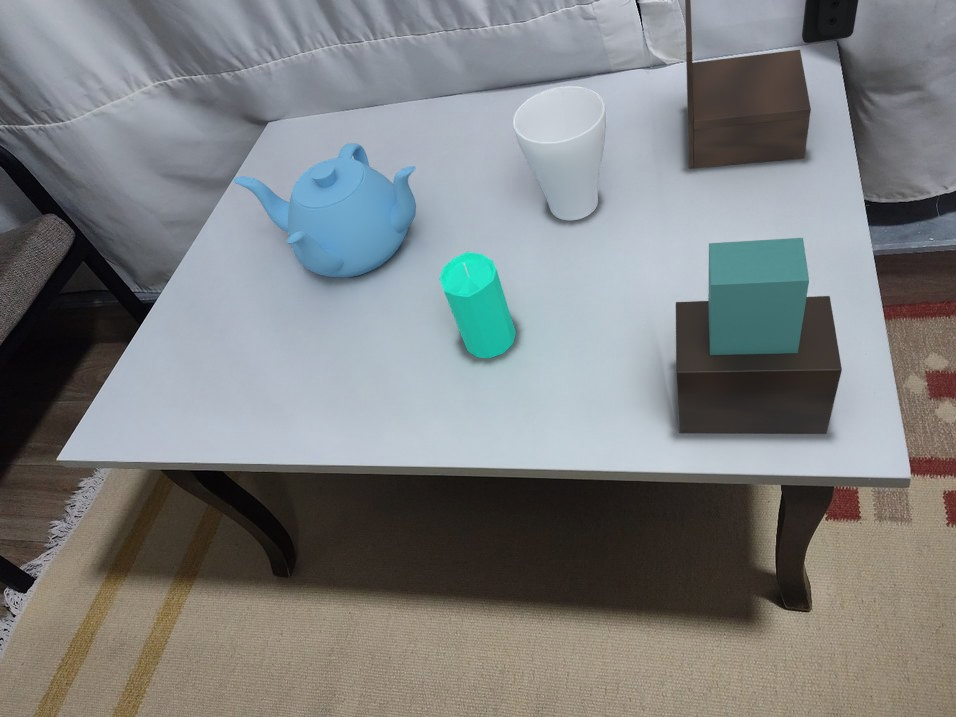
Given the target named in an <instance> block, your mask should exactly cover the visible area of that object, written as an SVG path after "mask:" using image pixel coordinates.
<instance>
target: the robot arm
mask: <svg viewBox="0 0 956 717" xmlns="http://www.w3.org/2000/svg"><path fill="white" fill-rule="evenodd" d="M858 5H859V0H805V3H804V11H803V21H802V31H801V38H802V41H803V42H804V43H805V44H812V43H819V42H825V41H826V42H827V41H833V40H841V39H847V38H850V37H851V36H852V35H853V34H854V31H855V25H856V24H855V23H856V17H857V12H858Z"/></svg>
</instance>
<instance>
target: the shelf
mask: <svg viewBox="0 0 956 717" xmlns="http://www.w3.org/2000/svg"><path fill="white" fill-rule="evenodd" d="M691 1H692V0H684V7H685V8H684V9H685V10H684V12H685V58H686V59H685V62H686V113H687V114H686V116H687V152H688V154H687V155H688V158H687V159H688V169H698V168H711V167H721V166H733V165H743V164H744V165H745V164H756V163H767V162H780V161H792V160H802V159H805V158H806V151H807V143H808V136H809V128H810V118H811V113H812V112H811V111H812V108H811V103H810V97H809V92H808V85H807V79H806V74H805V68H804V63H803V57H802V52H801V49H792V50H784V51H777V52H768V53H759V54H753V55H752V54H751V55H743V56H735V57H726V58H719V59H712V60H703V61H695V62H693V34H692V33H693V32H692V30H693V29H692V28H693V27H692V2H691Z"/></svg>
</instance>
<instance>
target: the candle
mask: <svg viewBox="0 0 956 717" xmlns="http://www.w3.org/2000/svg"><path fill="white" fill-rule="evenodd" d="M439 282H440V285H441V288H442V290H443V293H444V296H445V298H446V300H447V303H448V305H449V308H450V311H451V313H452V316H453V318H454V321H455V323H456V325H457V328H458V330H459V333H460V336H461V339H462V340H463V343H464V346H465V349H466V351H467V352H468V353H470V354H471V355H472V356H474V357H476V358H482V359H492V358H494V357H497V356H500V355H503V354H505V352H507V351H508V350H509V349H510V348H511V347H512V346H513V345H514V342H515V339H516V334H517V331H516V329H515V326H514V322H513V319H512V314H511V311H510V308H509V306H508V303H507V298H506V296H505V292H504V290H503V285H502V283H501V282H502V281H501V279H500V276H499V273H498V269H497V266H496V265H495V263H494V260H493V259H491V258H489V257H488V256H486V255H484V254H483V253H479V252H470V251H465V252H464V253H462V254H460V255H457V256H456V257H455V256H454V257H453V258H452V259H450V261H448V262H447V263H446V264H445V265H444V266H443V267H442V269H441V272H440V275H439Z"/></svg>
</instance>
